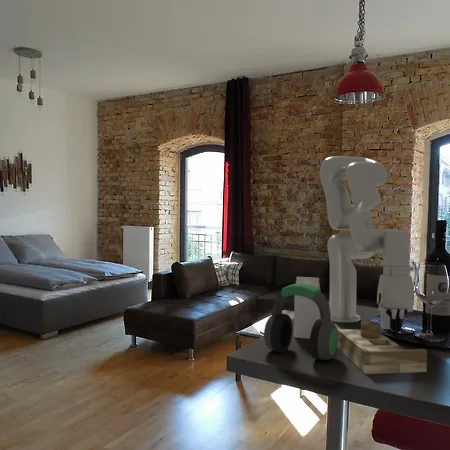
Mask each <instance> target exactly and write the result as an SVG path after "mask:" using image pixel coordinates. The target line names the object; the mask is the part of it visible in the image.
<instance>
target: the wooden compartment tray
mask: <svg viewBox="0 0 450 450" xmlns="http://www.w3.org/2000/svg"><path fill="white" fill-rule="evenodd" d="M336 327H337V331H338V345H337V349H338V350H339V351H340V352H341V353H342V354H343V355H344V356H345V357H346V358H348V359H349V361H351V362H352V363H353V364H354V366H355V365H356V367H357V368H358V369H359V370H361V371H362V373H364V374H365V375H375V374H376V375H377V374H400V373H402V374H403V373H405V374H407V373H427V370H428V369H427V365H428V350H427V349H425V348H414V349H413V348H412V349H410V348H409V349H405V348H404V347H402V346H401V345H400V344H397V343H396V342H394V341H393V340H391V339H390V338H388V337H387V336H385V335H384V334H382V333H381V332H380V338H378V339H368V338H364V337H362V336H361V328H354V329H353V328H351V329H348V328H347V329H346V328H345V329H341V328H340V327H339V326H338V325H336Z"/></svg>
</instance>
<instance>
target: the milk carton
mask: <svg viewBox="0 0 450 450" xmlns="http://www.w3.org/2000/svg"><path fill="white" fill-rule="evenodd" d="M299 283H302V284H309V285H313V286H315V287H317V288H319V289H320V290H321V286H320V278H319V277H309V276H307V277H305V276H296V281H295V284H299ZM293 298H294V303H293V304H294V308H293V309H294V313H293V318H294V319H293V324H294V325H293V326H294V327H293V331H294V332H293V333H294V334H293V336H294V338H297V339H306V340H310V335H311V330H312V327H313V325H314V323H315V321H316V320H318V319H321V316H320V312H319V309H318V307H317V305H316V303H315V302H314V301H312V300H310V299H308V298H306V297H303V296H297V295H294V297H293Z"/></svg>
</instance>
